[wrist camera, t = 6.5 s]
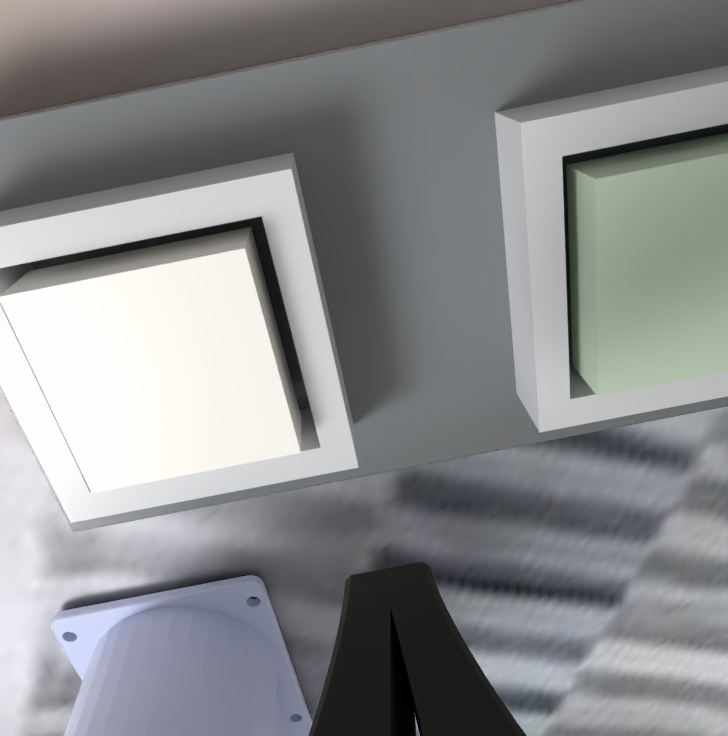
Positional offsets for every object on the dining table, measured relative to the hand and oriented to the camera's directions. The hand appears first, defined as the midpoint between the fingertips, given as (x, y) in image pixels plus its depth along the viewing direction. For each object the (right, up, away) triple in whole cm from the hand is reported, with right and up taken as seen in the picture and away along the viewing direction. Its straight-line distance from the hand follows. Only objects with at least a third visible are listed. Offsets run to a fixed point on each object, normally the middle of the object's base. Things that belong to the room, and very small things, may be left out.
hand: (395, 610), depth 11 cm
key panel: (+1, +8, +8) cm, 11 cm away
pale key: (-5, +5, +4) cm, 8 cm away
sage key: (+7, +7, +4) cm, 10 cm away
